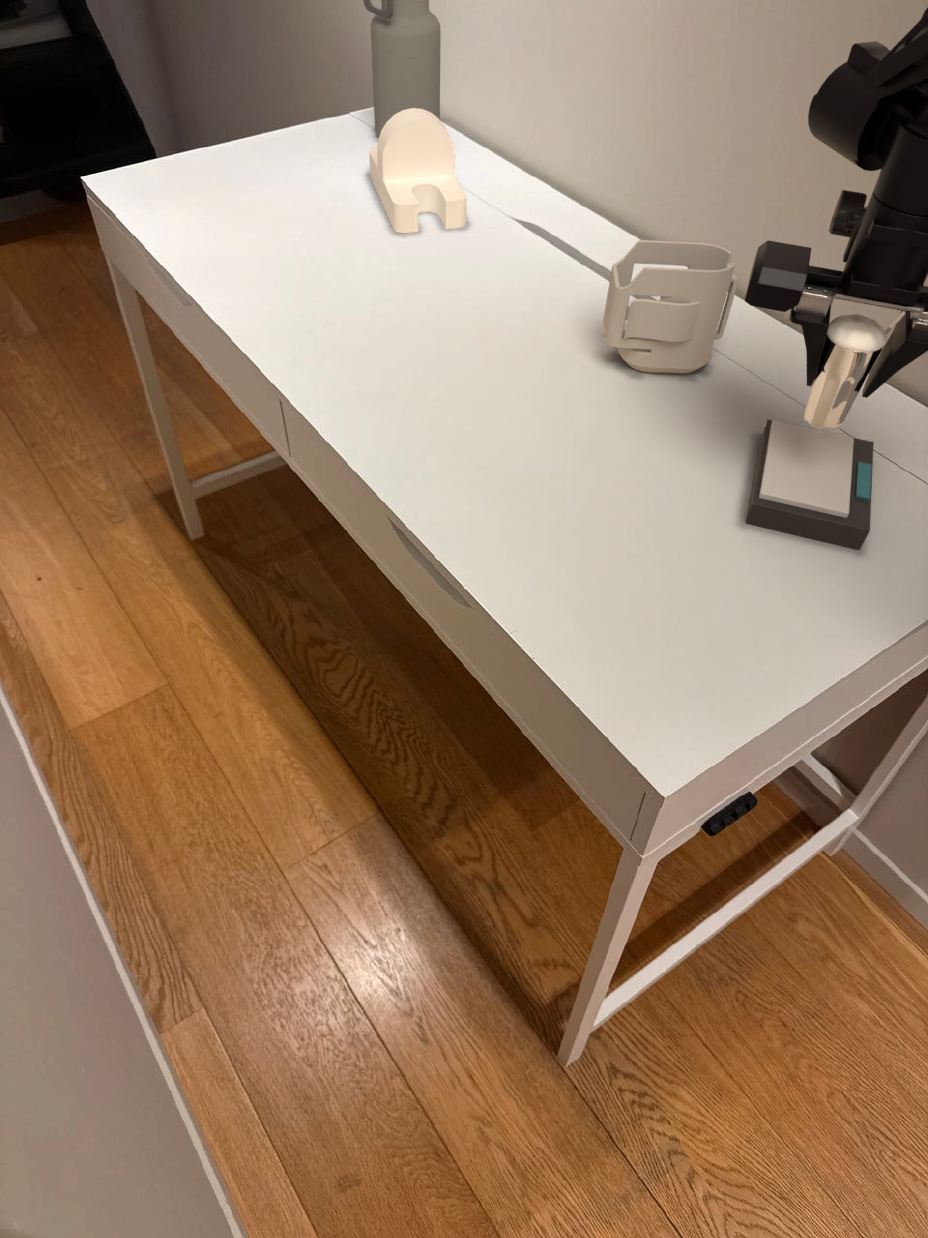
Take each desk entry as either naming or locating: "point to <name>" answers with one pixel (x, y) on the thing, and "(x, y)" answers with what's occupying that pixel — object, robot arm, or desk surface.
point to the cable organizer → (669, 305)
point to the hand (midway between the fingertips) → (837, 388)
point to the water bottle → (404, 58)
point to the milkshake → (844, 368)
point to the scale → (812, 485)
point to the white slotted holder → (417, 171)
